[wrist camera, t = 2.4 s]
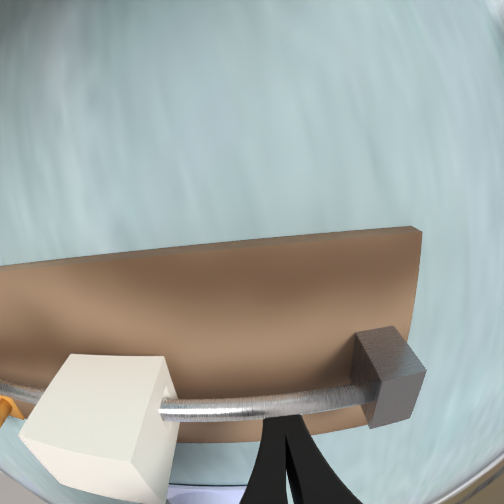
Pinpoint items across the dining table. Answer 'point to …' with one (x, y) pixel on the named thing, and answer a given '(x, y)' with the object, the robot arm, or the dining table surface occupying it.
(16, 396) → the metal rod
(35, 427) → the sleeve
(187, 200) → the dining table surface
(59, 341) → the walnut board
